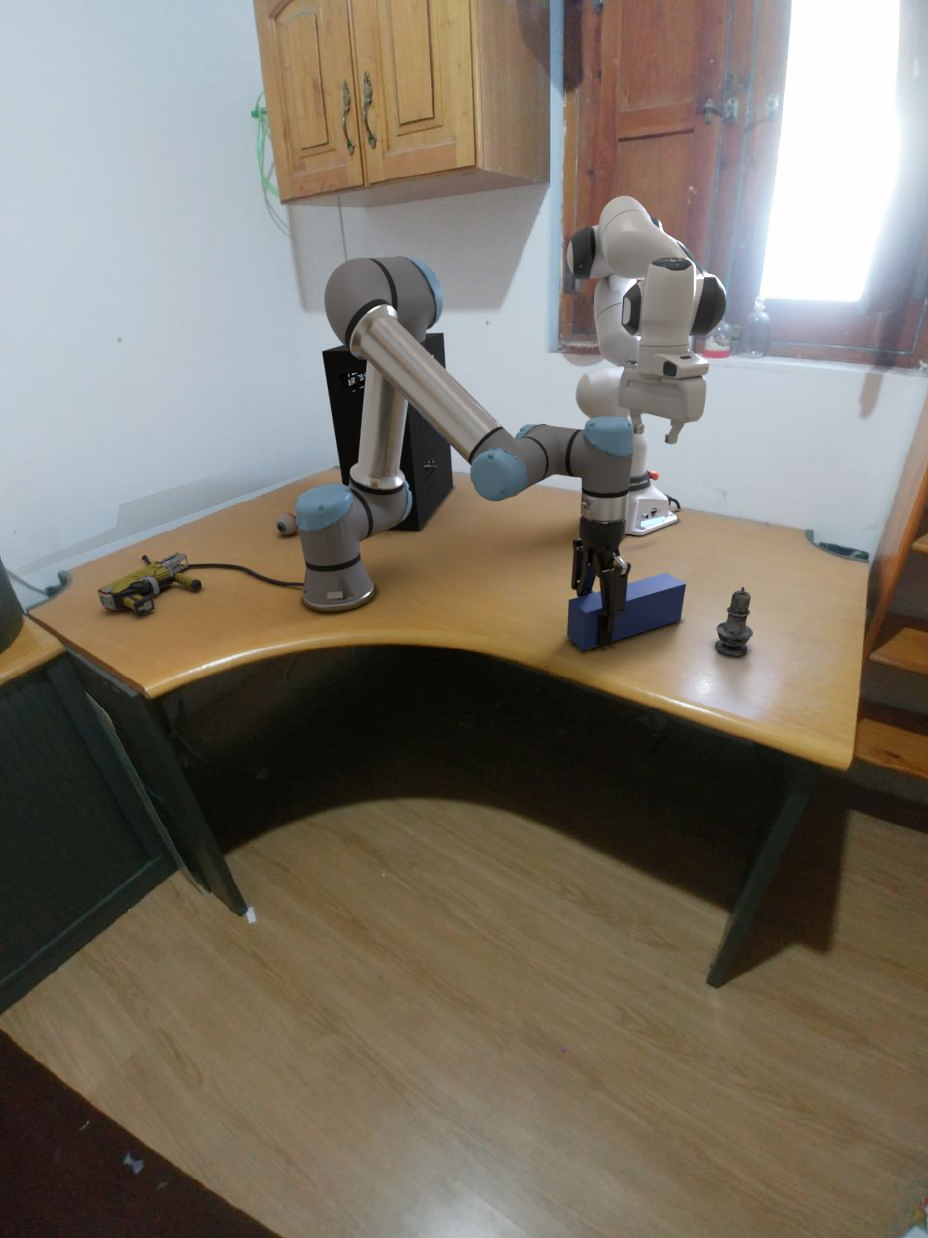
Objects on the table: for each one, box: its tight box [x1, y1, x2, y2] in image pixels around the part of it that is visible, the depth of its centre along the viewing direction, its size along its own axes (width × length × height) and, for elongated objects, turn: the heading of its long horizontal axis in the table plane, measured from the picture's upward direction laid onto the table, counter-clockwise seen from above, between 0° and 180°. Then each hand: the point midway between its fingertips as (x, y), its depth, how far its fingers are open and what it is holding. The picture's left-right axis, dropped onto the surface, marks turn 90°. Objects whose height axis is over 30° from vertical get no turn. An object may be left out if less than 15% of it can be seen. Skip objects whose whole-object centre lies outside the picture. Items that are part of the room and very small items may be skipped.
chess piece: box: [714, 586, 754, 657], centre depth 103 cm, size 6×6×12 cm
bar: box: [566, 572, 687, 651], centre depth 112 cm, size 22×5×8 cm, turn 115°
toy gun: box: [97, 551, 203, 617], centre depth 137 cm, size 5×24×15 cm
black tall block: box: [321, 332, 454, 532], centre depth 169 cm, size 38×20×45 cm, turn 167°
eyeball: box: [275, 511, 298, 536], centre depth 163 cm, size 6×6×6 cm
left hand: (594, 635), depth 111 cm, fingers closed on bar, 5 cm apart
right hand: (653, 438), depth 117 cm, fingers open, 8 cm apart
